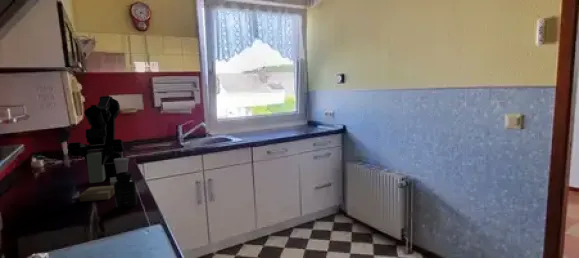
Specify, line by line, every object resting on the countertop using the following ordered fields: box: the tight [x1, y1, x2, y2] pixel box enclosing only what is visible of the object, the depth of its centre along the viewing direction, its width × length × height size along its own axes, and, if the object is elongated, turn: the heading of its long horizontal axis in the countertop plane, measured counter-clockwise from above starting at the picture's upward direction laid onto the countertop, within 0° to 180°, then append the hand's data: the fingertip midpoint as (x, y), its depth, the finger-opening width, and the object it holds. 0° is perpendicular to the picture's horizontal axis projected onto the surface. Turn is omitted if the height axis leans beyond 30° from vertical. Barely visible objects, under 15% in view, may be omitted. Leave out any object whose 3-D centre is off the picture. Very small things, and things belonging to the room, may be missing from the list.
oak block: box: [78, 185, 115, 203], centre depth 130 cm, size 10×10×3 cm
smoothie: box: [114, 151, 130, 174], centre depth 152 cm, size 6×6×14 cm
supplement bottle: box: [114, 171, 138, 210], centre depth 117 cm, size 7×7×12 cm
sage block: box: [86, 151, 106, 184], centre depth 129 cm, size 5×5×11 cm
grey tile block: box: [109, 177, 117, 186], centre depth 142 cm, size 8×8×4 cm
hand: (95, 165), depth 127 cm, fingers closed on sage block, 5 cm apart
